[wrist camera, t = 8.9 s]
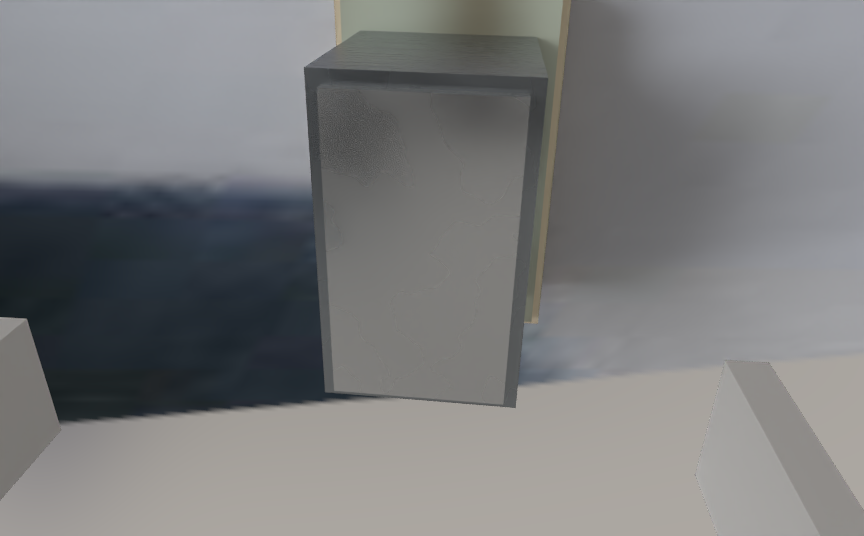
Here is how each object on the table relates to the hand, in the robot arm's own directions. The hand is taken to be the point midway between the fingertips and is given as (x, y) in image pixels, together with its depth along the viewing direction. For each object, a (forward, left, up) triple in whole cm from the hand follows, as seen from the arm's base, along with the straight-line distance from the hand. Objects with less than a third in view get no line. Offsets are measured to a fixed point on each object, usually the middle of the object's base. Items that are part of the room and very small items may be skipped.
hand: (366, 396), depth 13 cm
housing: (0, 0, -13) cm, 13 cm away
